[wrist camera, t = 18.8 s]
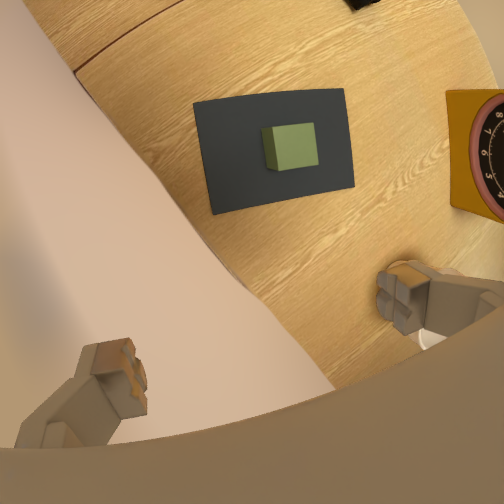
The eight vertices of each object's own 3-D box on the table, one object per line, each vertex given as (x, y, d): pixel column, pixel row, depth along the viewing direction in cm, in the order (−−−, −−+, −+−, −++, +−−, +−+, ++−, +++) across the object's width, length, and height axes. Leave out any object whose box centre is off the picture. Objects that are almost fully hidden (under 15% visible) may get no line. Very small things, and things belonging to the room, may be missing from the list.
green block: (266, 167, 39) (278, 171, 35) (260, 128, 37) (272, 127, 33) (303, 161, 40) (318, 164, 36) (298, 123, 38) (313, 122, 34)
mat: (212, 214, 40) (213, 215, 40) (192, 103, 35) (193, 103, 34) (353, 186, 44) (354, 187, 43) (342, 88, 38) (343, 88, 38)
